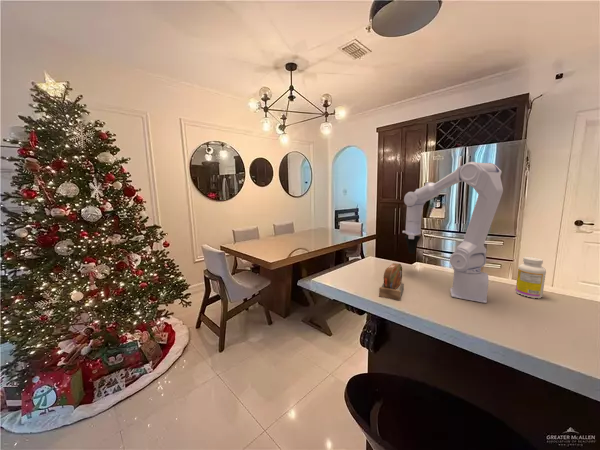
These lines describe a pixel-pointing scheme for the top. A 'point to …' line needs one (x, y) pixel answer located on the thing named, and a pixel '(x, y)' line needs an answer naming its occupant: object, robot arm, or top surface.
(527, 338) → the top surface
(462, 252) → the robot arm
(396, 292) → the dock
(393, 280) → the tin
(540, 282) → the supplement bottle
